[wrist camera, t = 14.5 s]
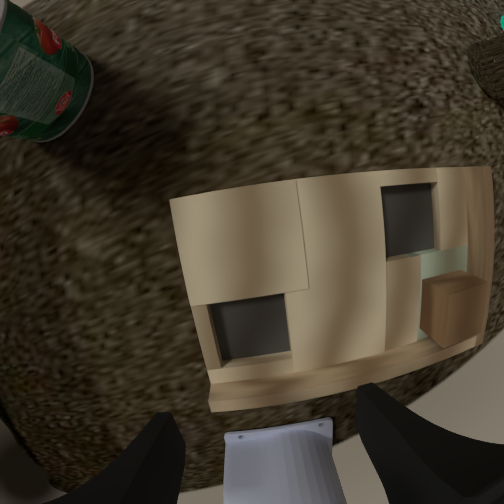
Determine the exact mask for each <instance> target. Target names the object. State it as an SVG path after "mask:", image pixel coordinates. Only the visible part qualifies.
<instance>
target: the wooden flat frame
mask: <svg viewBox="0 0 504 504" xmlns="http://www.w3.org/2000/svg"><path fill="white" fill-rule="evenodd" d="M170 206H171V212H172V218H173V223H174V229H175V234H176V239H177V245H178V250H179V255H180V260H181V265H182V269H183V274H184V279H185V284H186V288H187V293H188V297H189V301H190V306H191V308H192V312H193V317H194V321H195V325H196V329H197V333H198V337H199V341H200V345H201V349H202V352H203V356H204V360H205V364H206V367H207V371H208V375H209V378H210V382H211V388H210V394H209V401H208V402H209V405H210V408H211V412H220V411H232V410H241V409H250V408H258V407H266V406H272V405H279V404H285V403H291V402H297V401H302V400H308V399H313V398H317V397H322V396H327V395H331V394H336V393H340V392H344V391H348V390H352V389H356V388H358V386H360V385H364V384H368V383H371V382H373V383H378V382H381V381H384V380H388V379H391V378H394V377H397V376H400V375H403V374H406V373H409V372H412V371H415V370H418V369H421V368H423V367H426V366H429V365H431V364H434V363H437V362H439V361H442V360H444V359H447V358H449V357H452V356H454V355H456V354H459V353H461V352H463V351H465V350H468V349H470V348H472V347H474V346H477V345H479V344H481V343H482V342H483V337H484V332H485V327H486V321H487V315H488V309H489V301H490V294H491V284H492V274H493V259H494V199H493V184H492V174H491V166H479V167H447V168H420V169H401V170H386V171H372V172H360V173H349V174H338V175H328V176H319V177H310V178H302V179H294V180H286V181H278V182H271V183H264V184H257V185H250V186H244V187H237V188H231V189H225V190H219V191H213V192H207V193H202V194H196V195H191V196H185V197H180V198H175V199H170ZM457 270H462V271H465V272H467V273H469V274H472V275H474V276H476V277H478V278H481V279H483V280H485V281H487V282H488V290H487V299H486V306H485V313H484V320H483V326H482V331H481V333H479V334H477V335H474V336H472V337H470V338H467V339H465V340H463V341H460V342H458V343H455V344H453V345H450V346H448V347H445V348H442V347H441V346H440V345H439V344H437V343H436V342H435V341H434V340H433V339H432V338H430V337H429V336H428V335H427V334H426V333H425V332H423V331H422V330H421V329H420V328H419V327H420V314H421V297H422V279H426V278H430V277H434V276H438V275H442V274H446V273H449V272H453V271H457Z"/></svg>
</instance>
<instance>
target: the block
mask: <svg viewBox="0 0 504 504" xmlns="http://www.w3.org/2000/svg"><path fill="white" fill-rule="evenodd" d="M487 290H488V282H487V281H485V280H483V279H481V278H478V277H476V276H474V275H472V274H469V273H467V272H465V271H462V270H457V271H453V272H449V273H446V274H442V275H438V276H434V277H430V278H426V279H422V297H421V314H420V327H419V328H420V329H421V330H422V331H423V332H425V333H426V334H427V335H428V336H429V337H430V338H432V339H433V340H434V341H435V342H436V343H437V344H439V345H440V346H441V347H442V348H445V347H448V346H450V345H453V344H455V343H458V342H460V341H463V340H465V339H467V338H470V337H472V336H474V335H477V334H479V333H481V331H482V326H483V320H484V313H485V306H486V299H487Z"/></svg>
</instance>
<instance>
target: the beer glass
mask: <svg viewBox="0 0 504 504" xmlns="http://www.w3.org/2000/svg"><path fill="white" fill-rule="evenodd" d="M468 62H469V65H470V68H471V71H472V73H473V75H474V77H475V79H476V81H477V82H478V84H479V85H480V87H481V88H482V89H483V90H484V91H485V92H486V93H487V94H488V95H489V96H490V97H491V98H493V99H495V100H498V101H502V100H504V32H503V33H502V34H501V35H499V36H497V37H495V38H493V39H490V40H486V41H481V42H477V43H474V44H472V45H471V46H470V47H469V49H468Z"/></svg>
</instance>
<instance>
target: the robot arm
mask: <svg viewBox="0 0 504 504" xmlns="http://www.w3.org/2000/svg"><path fill="white" fill-rule="evenodd" d="M355 422H356V425H357V428H358V432H359V435H360V437H361V440H362V443H363V445H364V447H365V449H366V451H367V453H368V455H369V457H370V459H371V461H372V463H373V465H374V467H375V469H376V471H377V473H378V475H379V477H380V479H381V482H382V484H383V486H384V489H385V492H386V495H387V497H388V501H389V504H504V444H495V443H489V442H484V441H479V440H475V439H472V438H468V437H465V436H462V435H459V434H456V433H453V432H451V431H448V430H446V429H444V428H442V427H439V426H437V425H435V424H433V423H431V422H429V421H427V420H426V419H424V418H422V417H421V416H419V415H417V414H416V413H414V412H413V411H411V410H410V409H408V408H407V407H405V406H404V405H402V404H401V403H399V402H398V401H397V400H395V399H394V398H393V397H391V396H390V395H389V394H387V393H386V392H385V391H383V390H382V389H381V388H379V387H378V386H377V385H376V384H374V383H373V382H371V383H368V384H364V385H360V386H358V390H357V404H356V417H355ZM320 423H322V424H320ZM332 437H333V421H332V418H330V417H326V418H321V419H317V420H312V421H307V422H301V423H296V424H290V425H284V426H278V427H271V428H263V429H255V430H246V431H236V432H227V433H225V435H224V439H225V442H226V448H225V467H224V486H223V499H224V504H347V503H346V500H345V497H344V494H343V490H342V487H341V483H340V480H339V477H338V474H337V471H336V467H335V464H334V461H333V458H332ZM185 449H186V444H185V442H184V440H183V438H182V436H181V433H180V431H179V429H178V427H177V425H176V422H175V420H174V418H173V416H172V413H171V412H157V413H156V414H155V415H154V416H153V418H152V419H151V420H150V421H149V422H148V423H147V425H146V426H145V427H144V428H143V429H142V431H141V432H140V433H139V434H138V435H137V437H136V438H135V439H134V440H133V441H132V442H131V443H130V444H129V446H128V447H127V448H126V449H125V450H124V451H123V452H122V453H121V454H120V455H119V456H118V457H117V458H116V459H115V460H114V461H113V462H112V463H111V464H110V465H109V466H107V467H106V468H105V469H104V470H103V471H101V472H100V473H99V474H98V475H96V476H95V477H94V478H92V479H91V480H89V481H88V482H86V483H85V484H83V485H81V486H80V487H78V488H77V489H75V490H73V491H71V492H69V493H67V494H65V495H63V496H61V497H59V498H57V499H54V500H52V501H49V502H46V503H43V504H177V500H178V495H179V490H180V486H181V481H182V476H183V471H184V465H185Z"/></svg>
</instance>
